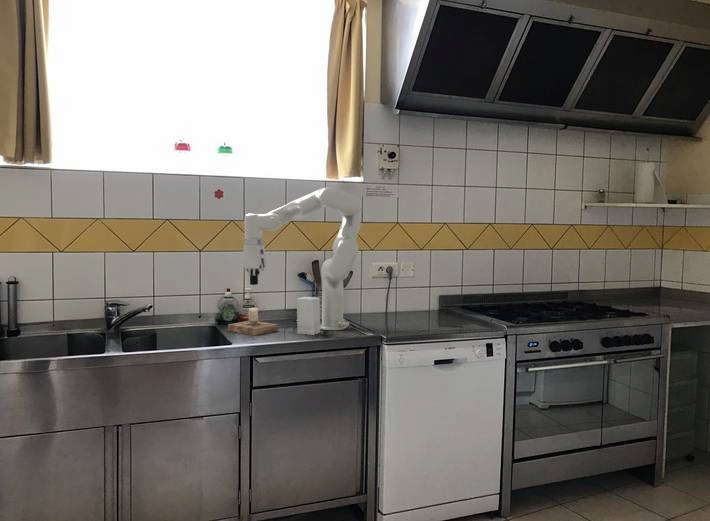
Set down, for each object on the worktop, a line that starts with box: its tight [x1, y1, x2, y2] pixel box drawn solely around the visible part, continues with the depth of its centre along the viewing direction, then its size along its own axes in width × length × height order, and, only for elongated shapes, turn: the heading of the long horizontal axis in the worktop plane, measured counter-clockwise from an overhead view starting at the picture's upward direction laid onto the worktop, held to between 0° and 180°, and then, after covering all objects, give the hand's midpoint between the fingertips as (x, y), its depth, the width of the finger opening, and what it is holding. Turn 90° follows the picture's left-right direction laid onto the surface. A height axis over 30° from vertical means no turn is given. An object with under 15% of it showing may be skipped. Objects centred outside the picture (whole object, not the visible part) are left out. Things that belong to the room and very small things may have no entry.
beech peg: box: [248, 307, 259, 326], centre depth 260 cm, size 4×4×10 cm
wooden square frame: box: [227, 320, 279, 336], centre depth 260 cm, size 16×14×3 cm
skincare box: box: [296, 296, 321, 336], centre depth 256 cm, size 8×7×16 cm
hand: (254, 284), depth 259 cm, fingers closed
